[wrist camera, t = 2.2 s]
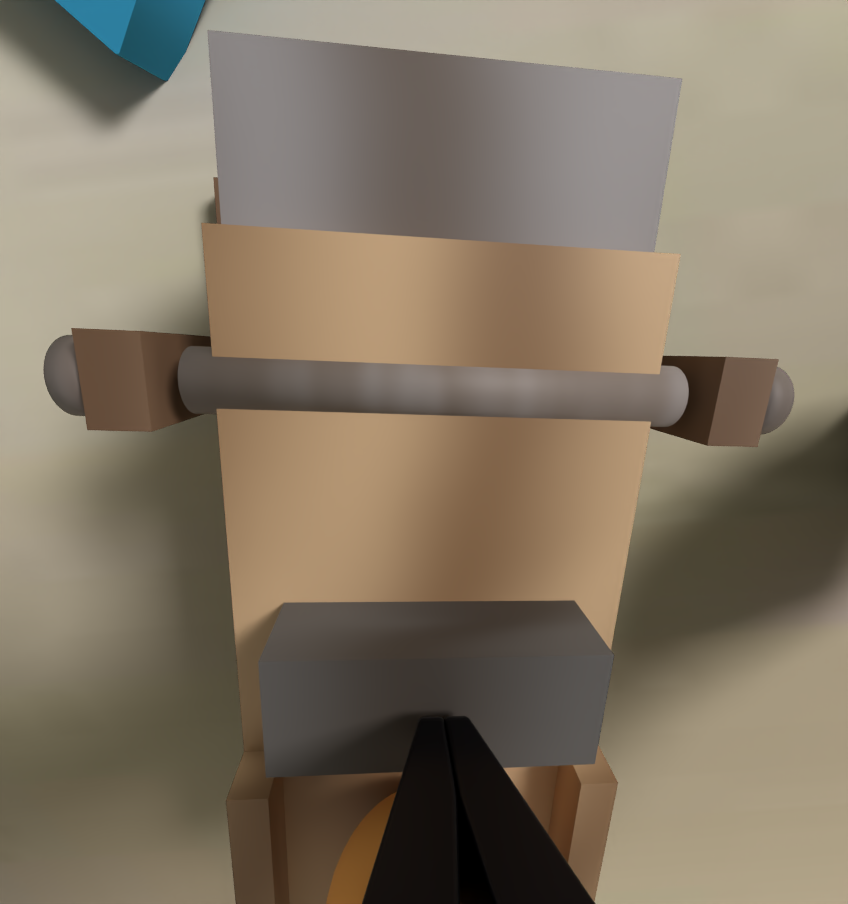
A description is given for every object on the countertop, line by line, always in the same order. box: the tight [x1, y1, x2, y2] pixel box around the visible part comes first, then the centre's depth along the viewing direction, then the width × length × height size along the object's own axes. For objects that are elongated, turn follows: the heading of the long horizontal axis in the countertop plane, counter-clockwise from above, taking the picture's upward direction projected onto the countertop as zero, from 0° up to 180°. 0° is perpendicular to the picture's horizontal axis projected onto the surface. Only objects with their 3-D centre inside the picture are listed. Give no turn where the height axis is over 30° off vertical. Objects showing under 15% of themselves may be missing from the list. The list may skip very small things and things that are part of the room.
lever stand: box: [44, 177, 794, 447], centre depth 11 cm, size 14×9×10 cm, turn 88°
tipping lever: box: [178, 30, 689, 904], centre depth 11 cm, size 9×22×7 cm, turn 178°
